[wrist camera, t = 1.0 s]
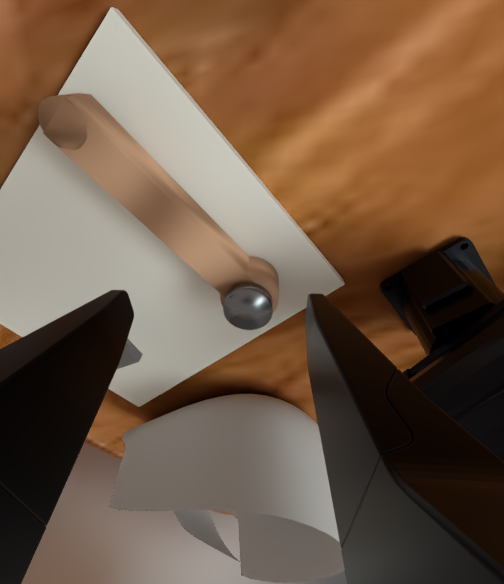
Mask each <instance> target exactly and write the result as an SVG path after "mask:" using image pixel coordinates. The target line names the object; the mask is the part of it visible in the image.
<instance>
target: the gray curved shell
mask: <svg viewBox="0 0 504 584" xmlns="http://www.w3.org/2000/svg"><path fill="white" fill-rule="evenodd" d="M122 440H123V443H124V444H125V445H126V447H125V451H124V454H123V458H122V462H121V465H120V469H119V472H118V476H117V480H116V483H115V487H114V491H113V494H112V498H111V502H110V505H109V507H111V508H115V509H118V510H128V511H169V510H170V511H171V510H174V512H175V515H176V516H177V518H178V520H179V522H180V523H181V525H182V526H183V527H184V529H185V530H186V531H187V532H189V533H190V534H192V535H193V536H194V537H196V538H198V539H199V540H201V541H203V542H204V543H206V544H208V545H210V546H211V547H214V548H215V549H217V550H219V551H220V552H222V553H224V554H226V555H228V556H230V557H232V558H233V559H235V560H237V559H236V558H235V557H234V556H233V555H232V554H231V553H230V551H229V550H228V549H227V547H226V546H225V544H224V543H223V541H222V539H221V538H220V536H219V534H218V532H217V530H216V527H215V524H214V521H213V519H212V517H211V515H210V513H209V512H208V511H207V510H226V511H231V513H232V514H233V516H235V517H236V518H237V519H238V522H239V542H240V561H241V575H242V576H245V577H248V578H251V579H255V580H261V581H268V582H303V581H311V580H317V579H323V578H326V577H330V576H334V575H336V574H338V573H340V572H342V571H344V570H345V568H344V563H343V557H342V552H341V550H342V548H341V546H340V541H339V535H338V530H337V524H336V519H335V513H334V508H333V503H332V497H331V492H330V486H329V481H328V475H327V470H326V464H325V459H324V454H323V448H322V443H321V437H320V432H319V426H318V424H317V423H316V422H315V421H314V420H313V419H312V418H311V417H310V416H308V415H307V414H306V413H304V412H303V411H301V410H300V409H298V408H297V407H295V406H294V405H292V404H290V403H287V402H285V401H283V400H281V399H278V398H274V397H270V396H267V395H258V394H233V395H226V396H220V397H216V398H212V399H207V400H204V401H201V402H197V403H194V404H191V405H188V406H185V407H183V408H180V409H178V410H175V411H173V412H170V413H168V414H165V415H163V416H161V417H158V418H156V419H153V420H151V421H148V422H146V423H144V424H141V425H139V426H137V427H135V428H132V429H130V430H128V431H127V432H125V433H124V435H123V437H122ZM237 561H239V560H237Z"/></svg>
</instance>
